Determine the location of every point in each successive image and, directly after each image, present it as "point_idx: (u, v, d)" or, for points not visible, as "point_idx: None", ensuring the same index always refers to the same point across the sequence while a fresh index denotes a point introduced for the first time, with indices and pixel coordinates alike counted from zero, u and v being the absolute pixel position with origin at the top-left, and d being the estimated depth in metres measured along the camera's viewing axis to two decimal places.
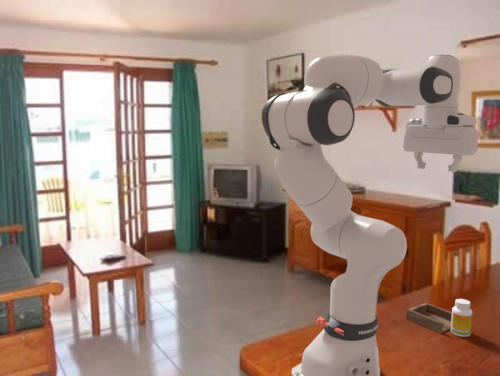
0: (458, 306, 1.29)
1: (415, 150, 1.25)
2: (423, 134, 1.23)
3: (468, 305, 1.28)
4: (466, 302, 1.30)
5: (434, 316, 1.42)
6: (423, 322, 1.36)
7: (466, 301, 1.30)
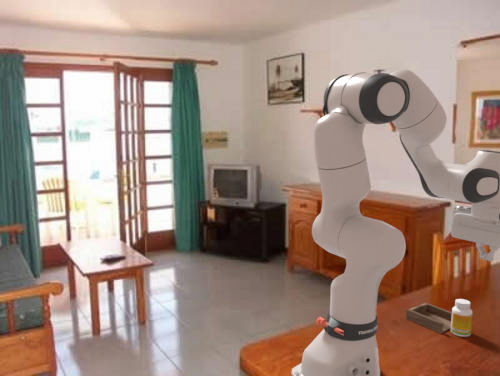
0: (458, 306, 1.29)
1: (464, 238, 1.26)
2: (472, 224, 1.24)
3: (468, 305, 1.28)
4: (466, 302, 1.30)
5: (434, 316, 1.42)
6: (423, 322, 1.36)
7: (466, 301, 1.30)
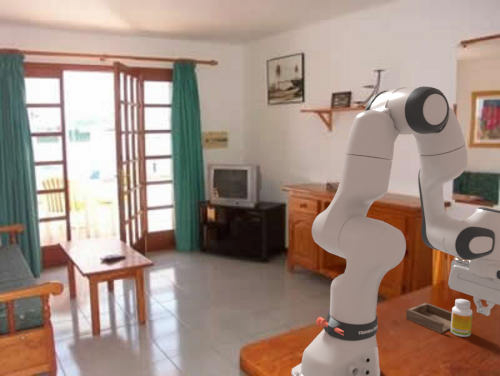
0: (458, 306, 1.29)
1: (461, 291, 1.28)
2: (470, 278, 1.26)
3: (468, 305, 1.28)
4: (466, 302, 1.30)
5: (434, 316, 1.42)
6: (423, 322, 1.36)
7: (466, 301, 1.30)
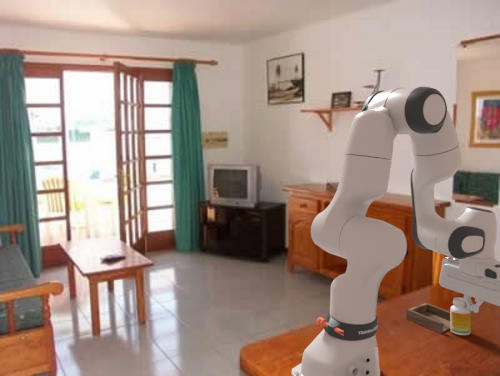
0: (456, 304, 1.30)
1: (451, 289, 1.31)
2: (460, 276, 1.29)
3: None
4: (464, 300, 1.31)
5: (434, 316, 1.42)
6: (423, 322, 1.36)
7: (464, 299, 1.31)
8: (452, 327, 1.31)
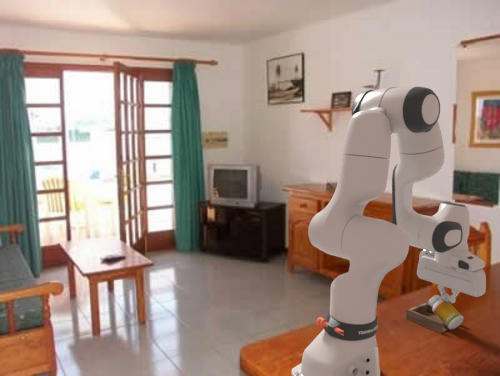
0: (431, 303, 1.38)
1: (428, 280, 1.38)
2: (436, 268, 1.35)
3: (436, 296, 1.38)
4: None
5: (434, 316, 1.42)
6: (423, 322, 1.36)
7: None
8: (445, 323, 1.33)
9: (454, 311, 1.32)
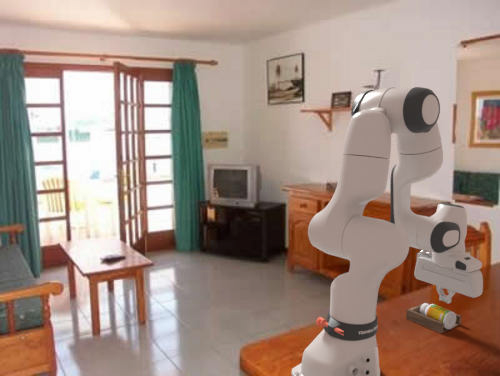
0: (423, 314, 1.39)
1: (425, 281, 1.38)
2: (433, 269, 1.36)
3: (422, 305, 1.39)
4: None
5: None
6: (423, 322, 1.36)
7: None
8: None
9: (441, 311, 1.33)
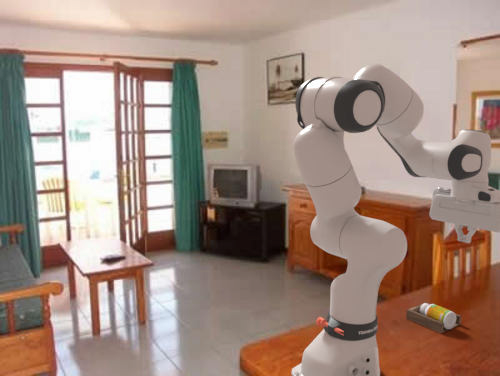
0: (423, 314, 1.39)
1: (442, 220, 1.25)
2: (452, 205, 1.23)
3: (422, 305, 1.39)
4: None
5: None
6: (423, 322, 1.36)
7: None
8: None
9: (441, 311, 1.33)
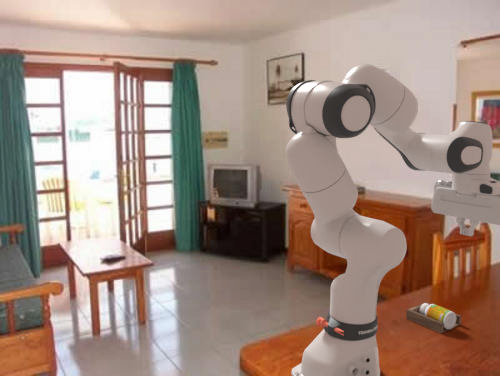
0: (423, 314, 1.39)
1: (444, 213, 1.23)
2: (453, 198, 1.21)
3: (422, 305, 1.39)
4: None
5: None
6: (423, 322, 1.36)
7: None
8: None
9: (441, 311, 1.33)
